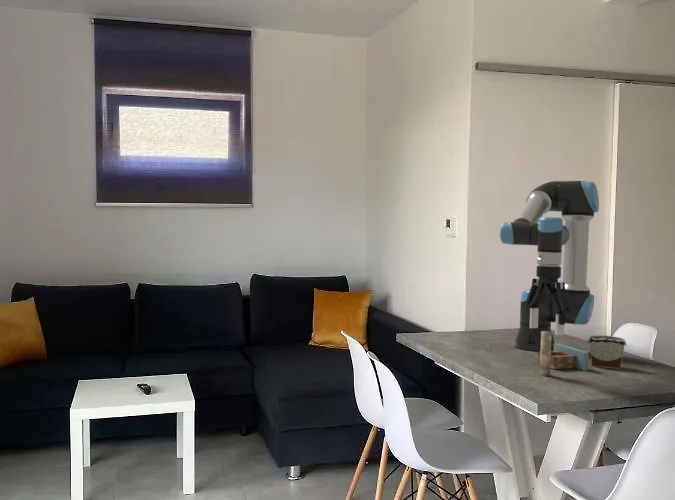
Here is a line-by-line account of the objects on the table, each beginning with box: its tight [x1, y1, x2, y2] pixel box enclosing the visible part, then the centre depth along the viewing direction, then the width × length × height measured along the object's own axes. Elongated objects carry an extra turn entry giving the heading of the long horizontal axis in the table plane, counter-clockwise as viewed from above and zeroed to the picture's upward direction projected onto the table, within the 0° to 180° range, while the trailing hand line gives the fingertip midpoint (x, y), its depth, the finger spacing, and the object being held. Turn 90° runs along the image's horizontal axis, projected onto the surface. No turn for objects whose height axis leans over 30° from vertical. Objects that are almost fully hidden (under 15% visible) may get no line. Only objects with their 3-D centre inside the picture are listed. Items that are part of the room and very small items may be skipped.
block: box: [537, 350, 577, 370], centre depth 234 cm, size 9×9×4 cm
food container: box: [587, 335, 627, 370], centre depth 236 cm, size 12×6×10 cm, turn 71°
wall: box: [553, 342, 590, 372], centre depth 236 cm, size 2×16×6 cm, turn 19°
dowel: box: [539, 331, 553, 377], centre depth 221 cm, size 3×3×14 cm
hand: (546, 331), depth 220 cm, fingers open, 13 cm apart
